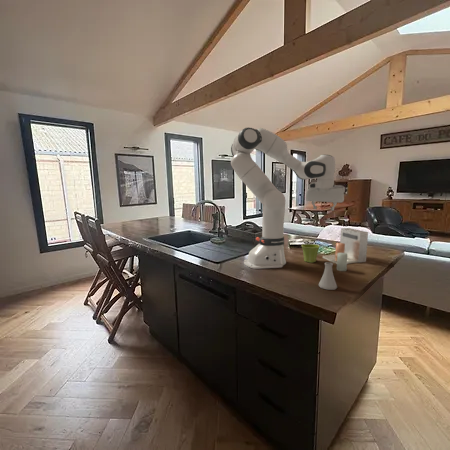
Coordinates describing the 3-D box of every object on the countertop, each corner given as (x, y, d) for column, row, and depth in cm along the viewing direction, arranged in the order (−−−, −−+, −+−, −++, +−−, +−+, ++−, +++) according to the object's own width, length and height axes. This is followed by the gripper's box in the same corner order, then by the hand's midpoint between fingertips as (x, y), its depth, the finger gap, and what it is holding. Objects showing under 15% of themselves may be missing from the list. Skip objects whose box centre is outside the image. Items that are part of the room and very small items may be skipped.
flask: (337, 291, 101) (339, 267, 99) (318, 289, 103) (319, 265, 102) (336, 284, 107) (338, 261, 106) (318, 282, 110) (319, 260, 108)
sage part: (341, 271, 122) (341, 255, 121) (334, 268, 127) (335, 253, 125) (348, 270, 124) (349, 254, 122) (342, 267, 128) (342, 252, 126)
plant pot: (299, 258, 145) (300, 243, 143) (317, 258, 143) (317, 243, 142) (302, 263, 136) (302, 247, 134) (320, 264, 134) (321, 248, 133)
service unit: (339, 265, 132) (341, 234, 129) (321, 257, 145) (323, 230, 143) (366, 261, 137) (368, 232, 134) (347, 254, 150) (348, 227, 148)
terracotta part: (341, 259, 137) (342, 244, 136) (333, 257, 140) (334, 243, 139) (345, 258, 140) (346, 243, 139) (337, 256, 143) (338, 242, 142)
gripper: (346, 185, 139) (344, 210, 141) (309, 184, 150) (307, 208, 153) (344, 185, 134) (341, 211, 136) (305, 184, 145) (303, 209, 148)
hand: (323, 209), depth 144 cm, fingers open, 8 cm apart
